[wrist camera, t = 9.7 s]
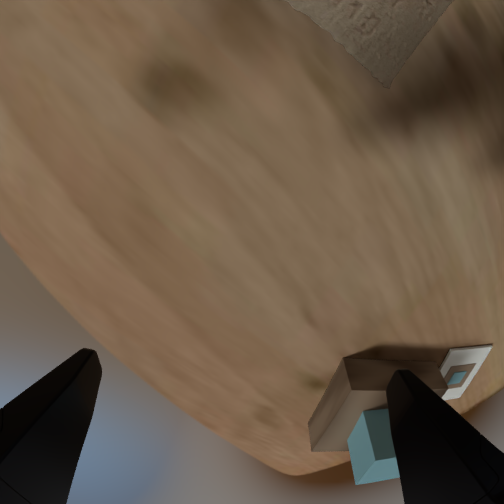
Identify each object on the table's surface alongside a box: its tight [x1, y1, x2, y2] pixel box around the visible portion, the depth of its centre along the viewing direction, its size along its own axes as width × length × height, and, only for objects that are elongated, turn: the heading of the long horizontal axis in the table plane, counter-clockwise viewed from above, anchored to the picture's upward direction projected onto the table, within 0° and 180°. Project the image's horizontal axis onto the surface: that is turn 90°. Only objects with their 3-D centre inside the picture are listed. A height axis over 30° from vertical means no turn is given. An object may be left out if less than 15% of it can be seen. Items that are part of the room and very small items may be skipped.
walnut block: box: [308, 358, 449, 452], centre depth 27 cm, size 10×10×4 cm
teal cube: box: [347, 409, 400, 485], centre depth 22 cm, size 5×5×5 cm
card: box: [439, 345, 492, 400], centre depth 27 cm, size 6×8×1 cm
